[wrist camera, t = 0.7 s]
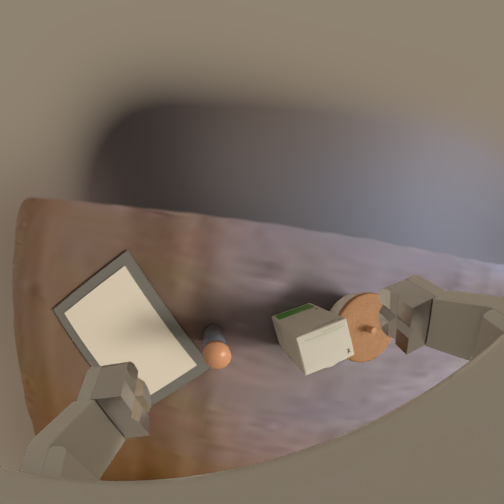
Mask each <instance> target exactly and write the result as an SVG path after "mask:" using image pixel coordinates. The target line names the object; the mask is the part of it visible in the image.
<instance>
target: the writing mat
mask: <svg viewBox="0 0 504 504" xmlns="http://www.w3.org/2000/svg"><path fill="white" fill-rule="evenodd" d="M53 310H54V312H55V313H56V315H57V317H58V318H59V320H60V322H61V323H62V325H63V326H64V328H65V329H66V331H67V333H68V334H69V336H70V337H71V339H72V340H73V342H74V343H75V344H76V346H77V347H78V349H79V350H80V352H81V353H82V354H83V356H84V357H85V359H86V360H87V361H88V363H89V364H90V365H91V367H97V366H104V365H110V364H117V363H123V362H129V361H130V362H132V363H134V365H135V366H136V368H137V370H138V378H139V379H141V380H143V381H144V382H145V384H146V385H147V387H148V390H149V392H150V397H151V406H152V405H153V404H155V403H157V402H158V401H160V400H161V399H163V398H165V397H166V396H168V395H170V394H171V393H173V392H174V391H176V390H178V389H179V388H181V387H182V386H184V385H185V384H187V383H189V382H190V381H192V380H193V379H195V378H196V377H198V376H199V375H201V374H202V373H204V372H205V371H207V370H208V369H210V368H211V367H209V366H208V365H207V364H206V363H205V361H204V358H203V354H202V353H201V352H200V351H199V349H198V348H197V347H196V346H195V344H194V343H193V342H192V340H191V339H190V338H189V337H188V335H187V334H186V333H185V331H184V330H183V329H182V327H181V326H180V325H179V323H178V322H177V321H176V319H175V318H174V317H173V315H172V314H171V312H170V311H169V310H168V308H167V307H166V305H165V304H164V303H163V301H162V300H161V298H160V297H159V296H158V294H157V293H156V291H155V290H154V288H153V287H152V285H151V284H150V282H149V281H148V279H147V278H146V277H145V275H144V274H143V272H142V270H141V269H140V267H139V266H138V264H137V263H136V261H135V260H134V258H133V257H132V255H131V253H130V252H129V250H127V251H126V252H125V253H123V254H122V255H121V256H119V257H118V258H117V259H115V260H114V261H113V262H111V263H110V264H109V265H107V266H106V267H105V268H103V269H102V270H101V271H100V272H98V273H97V274H96V275H95V276H93V277H92V278H91V279H89V280H88V281H87V282H86V283H85V284H83V285H82V286H81V287H80V288H78V289H77V290H76V291H75V292H73V293H72V294H71V295H70V296H69V297H67V298H66V299H65V300H64V301H63V302H61V303H60V304H59V305H58V306H57V307H56V308H54V309H53Z"/></svg>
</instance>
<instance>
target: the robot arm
mask: <svg viewBox="0 0 504 504" xmlns="http://www.w3.org/2000/svg"><path fill="white" fill-rule="evenodd" d="M379 302H380V303H381V304H382V307H381V309H380V311H379V323H380V326H381V329H382V330H383V332H384V333H385V334H386V335H387V336H388V337H391V338H395V344H396V345H397V346H398V347H399V348H400V349H401V350H402V351H403V352H405V353H406V354H408V353H410V352H412V351H414V350H416V349H418V348H420V347H422V346H424V345H426V346H428V347H431V348H434V349H437V350H440V351H442V352H445V353H448V354H451V355H454V356H457V357H460V358H463V359H466V360H469V362H468V363H467V364H465V365H464V366H463V367H461V368H460V369H459V370H457V371H456V372H454V373H453V374H452V375H450V376H449V377H447V378H446V379H444V380H443V381H441V382H440V383H438V384H437V385H435V386H434V387H432V388H430V389H429V390H427V391H426V392H424V393H422V394H421V395H419V396H418V397H416V398H414V399H412V400H411V401H409V402H407V403H406V404H404V405H402V406H400V407H398V408H397V409H395V410H393V411H391V412H389V413H387V414H385V415H383V416H381V417H379V418H377V419H375V420H373V421H371V422H369V423H367V424H365V425H363V426H361V427H359V428H356V429H354V430H352V431H350V432H347V433H345V434H343V435H340V436H338V437H335V438H333V439H330V440H328V441H325V442H323V443H320V444H317V445H315V446H312V447H309V448H306V449H303V450H300V451H297V452H294V453H291V454H288V455H285V456H282V457H278V458H275V459H271V460H268V461H264V462H260V463H256V464H252V465H248V466H244V467H239V468H235V469H230V470H225V471H220V472H214V473H208V474H202V475H195V476H188V477H180V478H170V479H159V480H143V481H101V480H100V478H101V476H102V475H103V473H104V472H105V470H106V469H107V467H108V466H109V464H110V463H111V461H112V460H113V458H114V456H115V455H116V453H117V452H118V450H119V449H120V447H121V446H122V444H123V443H124V441H125V440H126V439H125V438H131V437H139V436H146V435H149V433H150V418H149V416H148V415H147V413H148V412H149V410H150V409H151V397H150V392H149V390H148V387H147V385H146V384H145V382H144V381H143V380H141V379H139V378H138V370H137V368H136V366H135V365H134V363H132V362H130V361H129V362H123V363H117V364H110V365H104V366H97V367H91V368H90V369H88V371H87V374H86V376H85V379H84V382H83V385H82V387H81V390H80V393H79V396H78V399H77V401H76V402H72V403H71V404H70V405H69V406H68V407H67V408H66V409H65V410H63V411H62V412H61V413H60V414H59V415H58V416H57V417H56V418H55V419H54V420H53V421H52V422H50V423H49V424H48V425H47V426H46V427H45V428H44V429H43V430H42V431H41V432H40V433H39V434H38V435H37V436H35V438H33V439H32V440H31V441H30V442H29V444H28V447H27V450H26V452H25V456H24V459H23V462H22V465H21V468H20V471H17V470H13V469H9V468H4V467H1V466H0V504H504V297H498V296H490V295H482V294H474V293H466V292H458V291H450V290H449V291H447V292H446V291H444V290H442V289H441V288H439V287H437V286H436V285H434V284H432V283H431V282H429V281H427V280H426V279H424V278H422V277H420V276H419V275H413V276H411V277H409V278H407V279H404V280H403V281H401V282H398V283H396V284H394V285H391V286H389V287H386V288H384V289H381V290H380V293H379Z"/></svg>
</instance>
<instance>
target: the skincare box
mask: <svg viewBox="0 0 504 504" xmlns="http://www.w3.org/2000/svg"><path fill="white" fill-rule="evenodd" d="M272 321H273V325H274V328H275V331H276V334H277V338H278V341H279V344H280V346H281V347H282V349H283V350H284V351H285V352H286V353H287V354H288V356H289V357H290V358H291V359H292V360H293V361H294V363H295V364H296V365H297V366H298V367H299V368H300V370H301V371H302V372H303V373H304V374H305V375H308V374H310V373H313V372H316V371H318V370H321V369H323V368H327V367H331V366H333V365H335V364H336V363H337V362H339V361H342V360H344V359H346V358H348V357H350V356H353V355H354V351H353V346H352V342H351V337H350V333H349V329H348V325H347V320H346V318H344V317H341V316H339V315H337V314H334V313H332V312H330V311H327V310H325V309H323V308H320V307H318V306H316V305H314V304H311V303H307V304H305V305H302V306H299V307H296V308H293V309H291V310H288V311H285V312H282V313H279V314H276V315H273V316H272Z"/></svg>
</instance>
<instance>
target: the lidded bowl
mask: <svg viewBox="0 0 504 504" xmlns="http://www.w3.org/2000/svg"><path fill="white" fill-rule="evenodd" d="M381 307H382V304H381V303H380V302H379V294H376V293H364V292H359V293H352V294H349V295H346V296H344V297H342V298H341V299H339V300H338V301H337V302H336V303H335V304H334V305H333V306H332V308H331V309H330V312H332V313H334V314H337V315H339V316H341V317H344V318H346V320H347V325H348V329H349V333H350V337H351V342H352V346H353V351H354V355H353V356H350V357H348V358H347V359H349V360H351V361H354V362H366V361H370V360H372V359H374V358H376V357H377V356H379V355H380V354H381V353H382V352H383V351H384V350H385V349H386V347H387V346H388V344H389V343H390V341H391V337H388V336H387V335H386V334H385V333H384V332H383V330H382V329H381V326H380V323H379V311H380V309H381Z"/></svg>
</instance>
